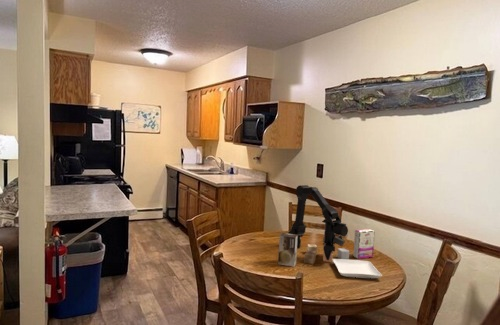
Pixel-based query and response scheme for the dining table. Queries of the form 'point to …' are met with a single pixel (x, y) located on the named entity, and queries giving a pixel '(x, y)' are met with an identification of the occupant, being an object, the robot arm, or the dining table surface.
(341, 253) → the light gray block
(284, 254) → the coffee box
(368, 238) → the candy bar box
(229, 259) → the dining table surface
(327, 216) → the robot arm
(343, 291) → the dining table surface
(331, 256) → the terracotta block
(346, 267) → the salad plate
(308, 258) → the walnut block
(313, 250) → the maple block
